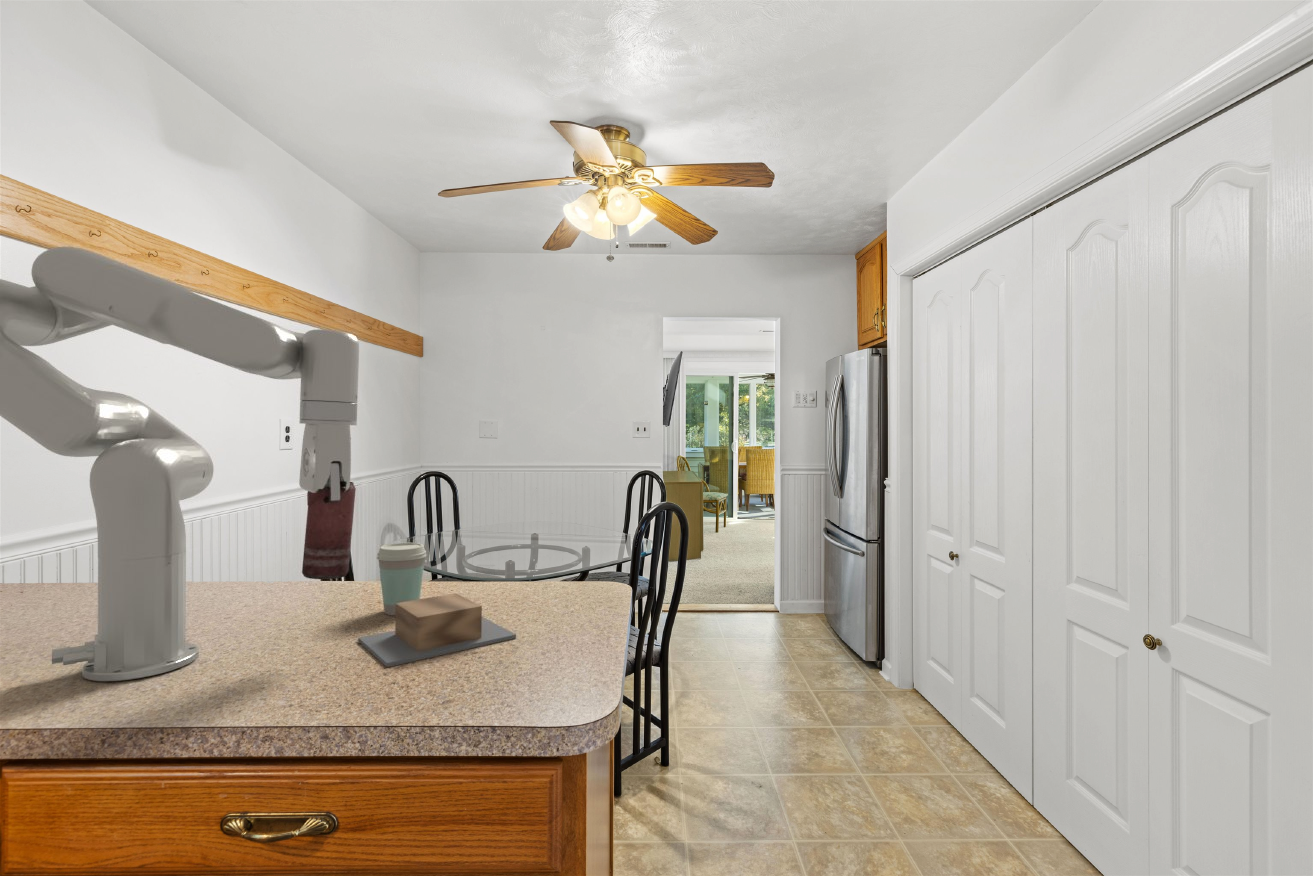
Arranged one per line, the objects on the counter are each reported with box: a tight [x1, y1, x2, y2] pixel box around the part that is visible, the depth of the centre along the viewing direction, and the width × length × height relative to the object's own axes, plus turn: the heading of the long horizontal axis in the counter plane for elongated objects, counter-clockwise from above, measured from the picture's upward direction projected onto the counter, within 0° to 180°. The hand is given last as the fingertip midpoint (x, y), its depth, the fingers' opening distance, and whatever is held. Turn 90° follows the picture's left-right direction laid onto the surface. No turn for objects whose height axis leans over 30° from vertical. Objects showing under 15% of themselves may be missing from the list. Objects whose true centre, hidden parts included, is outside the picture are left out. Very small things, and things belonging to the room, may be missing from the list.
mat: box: [357, 616, 517, 668], centre depth 100 cm, size 20×14×1 cm
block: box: [394, 593, 483, 651], centre depth 100 cm, size 10×10×5 cm
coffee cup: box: [376, 542, 427, 616], centre depth 115 cm, size 9×9×12 cm
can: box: [301, 481, 357, 580], centre depth 93 cm, size 6×6×14 cm
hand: (324, 538), depth 93 cm, fingers closed
